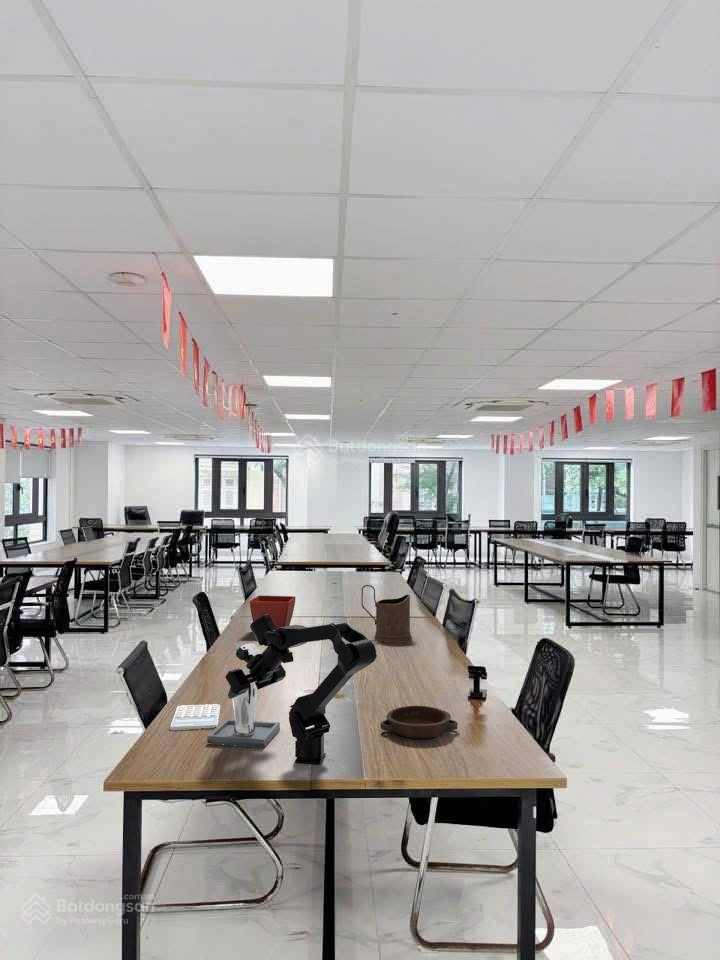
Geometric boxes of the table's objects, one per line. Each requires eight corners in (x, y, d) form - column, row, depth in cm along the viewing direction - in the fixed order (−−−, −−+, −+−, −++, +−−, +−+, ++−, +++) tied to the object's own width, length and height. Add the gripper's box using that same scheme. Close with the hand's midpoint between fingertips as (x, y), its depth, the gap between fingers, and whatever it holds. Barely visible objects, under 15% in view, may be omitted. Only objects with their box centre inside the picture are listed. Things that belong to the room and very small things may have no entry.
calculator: (220, 708, 218) (220, 702, 218) (217, 730, 198) (217, 723, 198) (177, 710, 216) (177, 704, 216) (169, 732, 196) (169, 725, 196)
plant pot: (296, 629, 343) (296, 595, 343) (288, 637, 324) (288, 601, 324) (258, 628, 345) (258, 595, 345) (248, 636, 326) (248, 601, 326)
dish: (377, 722, 204) (377, 705, 204) (450, 720, 206) (450, 704, 206) (383, 744, 187) (383, 725, 187) (464, 741, 189) (464, 723, 189)
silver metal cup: (233, 728, 194) (233, 675, 194) (258, 728, 195) (258, 675, 195) (230, 737, 187) (230, 682, 188) (256, 737, 188) (256, 681, 188)
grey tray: (279, 730, 197) (279, 722, 197) (264, 748, 183) (264, 739, 183) (226, 726, 199) (226, 719, 200) (207, 744, 186) (207, 735, 186)
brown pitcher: (414, 642, 314) (414, 587, 315) (361, 642, 314) (361, 587, 314) (410, 634, 333) (410, 582, 333) (361, 634, 332) (361, 582, 333)
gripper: (278, 630, 197) (250, 663, 203) (230, 641, 182) (201, 677, 188) (299, 661, 192) (269, 694, 198) (251, 675, 177) (221, 711, 183)
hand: (241, 693), depth 192 cm, fingers open, 9 cm apart
